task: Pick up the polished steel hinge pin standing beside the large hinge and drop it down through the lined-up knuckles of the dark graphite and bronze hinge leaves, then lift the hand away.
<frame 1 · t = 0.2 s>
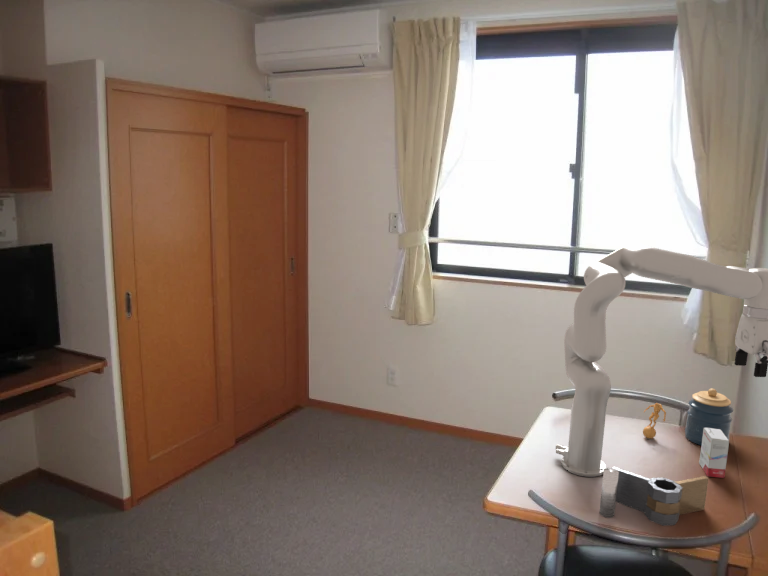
hand: (749, 370, 181), 31 cm above the table, tool pointing down, fingers open, 9 cm apart
ink box: (711, 471, 187), on the table
figurine: (650, 438, 208), on the table
canister: (706, 440, 208), on the table
bronze hinge leaf: (661, 517, 162), on the table
hinge pin: (606, 513, 163), on the table
fixed hinge leaf: (661, 517, 162), on the table
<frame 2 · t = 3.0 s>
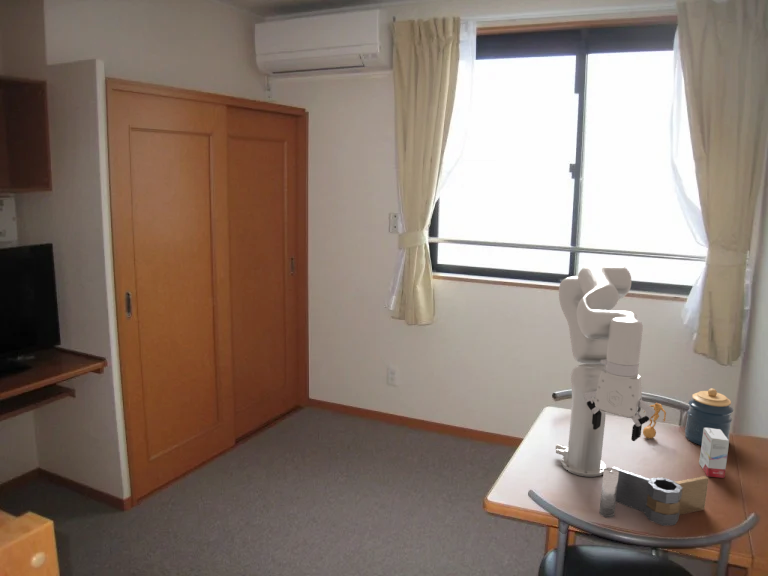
hand: (615, 433, 158), 22 cm above the table, tool pointing down, fingers open, 9 cm apart
nothing on the table moved.
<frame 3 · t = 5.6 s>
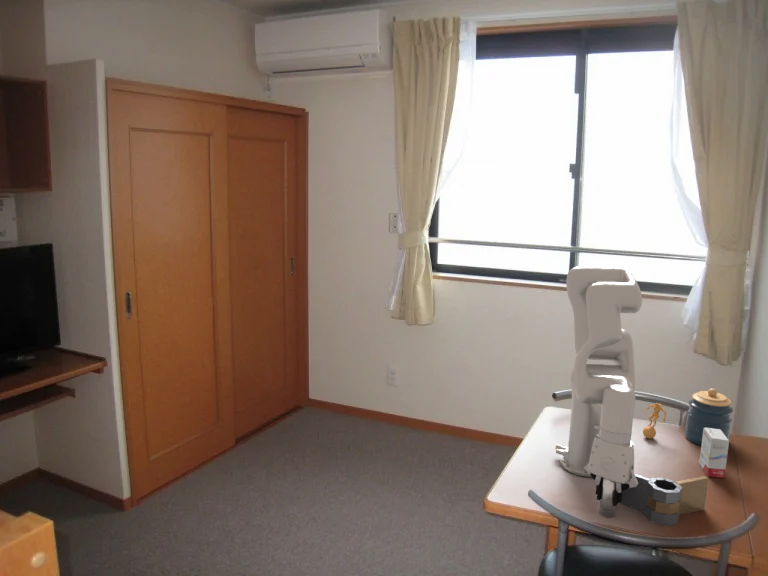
hand: (608, 500, 162), 4 cm above the table, tool pointing down, fingers closed on hinge pin, 3 cm apart
hinge pin: (606, 513, 163), on the table, touching gripper
everything else where it was.
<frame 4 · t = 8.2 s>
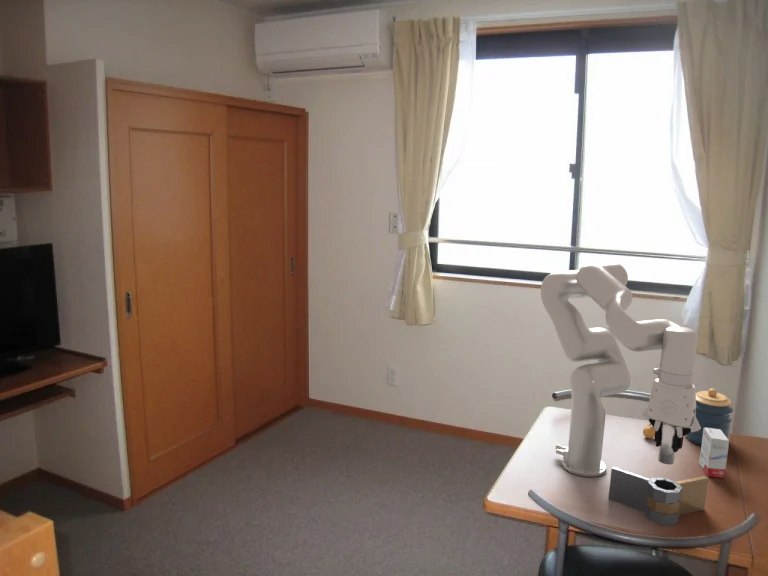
hand: (667, 446, 158), 19 cm above the table, tool pointing down, fingers closed on hinge pin, 3 cm apart
hinge pin: (665, 461, 159), point 16 cm above the table, touching gripper
everything else where it was.
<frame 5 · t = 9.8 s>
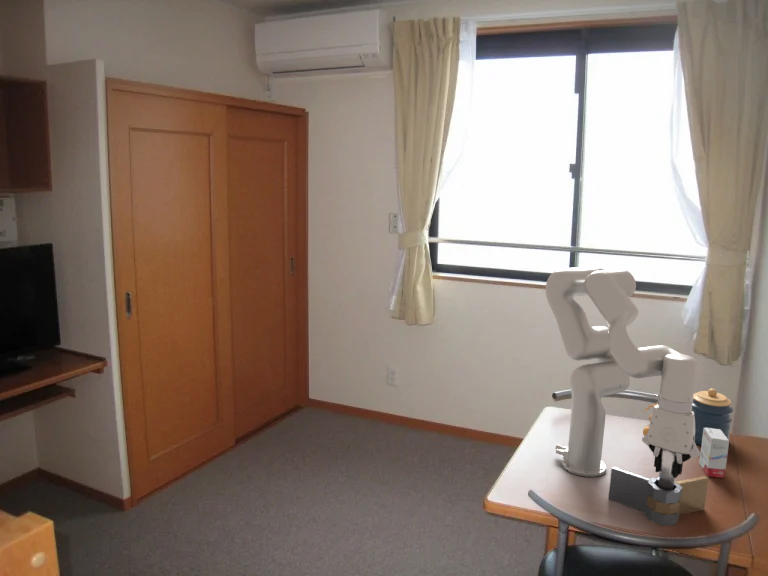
hand: (667, 472, 159), 13 cm above the table, tool pointing down, fingers closed on hinge pin, 3 cm apart
hinge pin: (665, 486, 160), point 9 cm above the table, touching gripper
everything else where it was.
when the fingers open (11 cm above the table, at t = 11.0 s): hinge pin drops 7 cm, resting in fixed hinge leaf.
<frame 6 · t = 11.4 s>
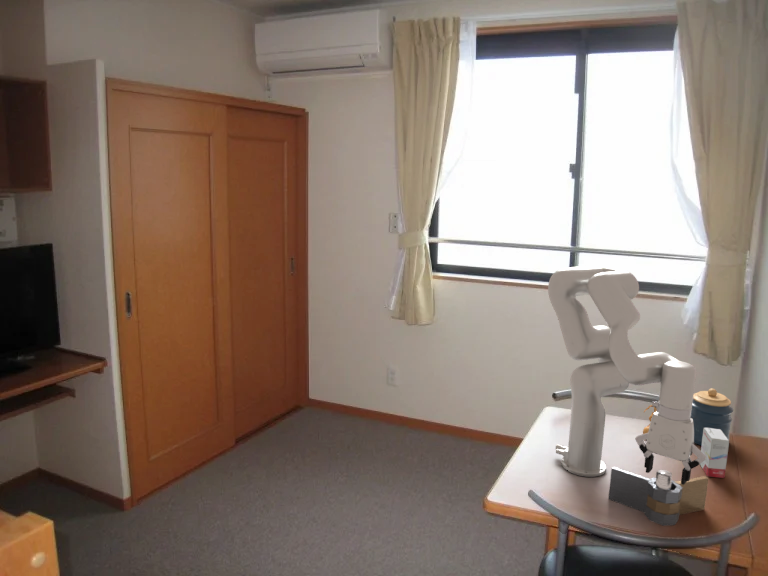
hand: (666, 476, 160), 11 cm above the table, tool pointing down, fingers open, 8 cm apart
hinge pin: (660, 516, 162), resting in fixed hinge leaf
everything else where it was.
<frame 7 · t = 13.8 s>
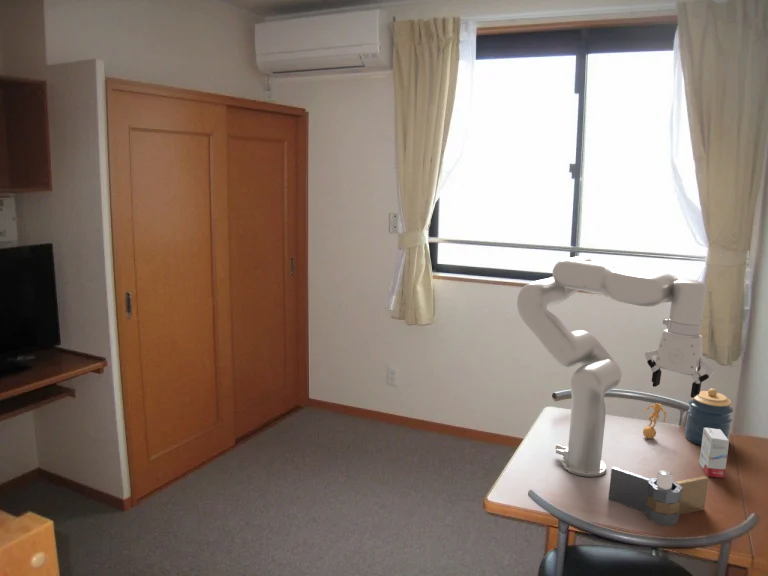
hand: (674, 390, 165), 30 cm above the table, tool pointing down, fingers open, 9 cm apart
nothing on the table moved.
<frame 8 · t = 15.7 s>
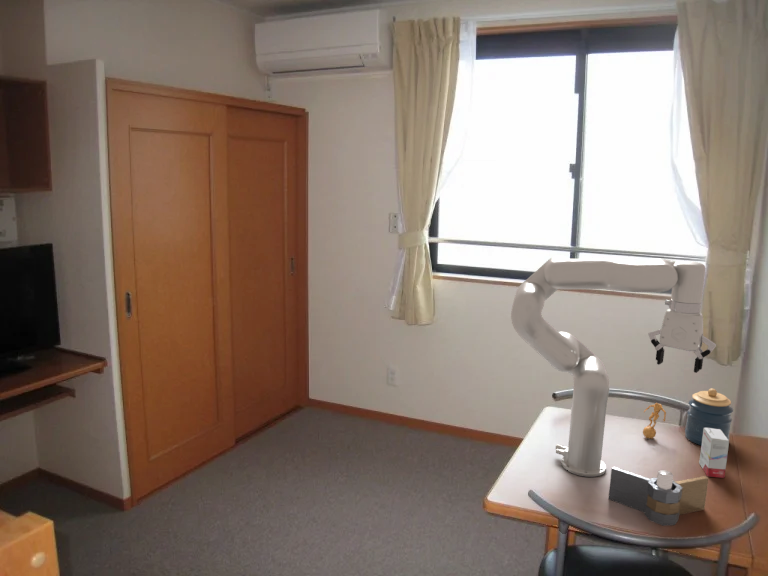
hand: (677, 367, 175), 33 cm above the table, tool pointing down, fingers open, 9 cm apart
nothing on the table moved.
at the end: hinge pin 0.2 cm from the fixed hinge leaf (horizontally); hinge pin resting in fixed hinge leaf; hinge pin tilted 0° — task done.
